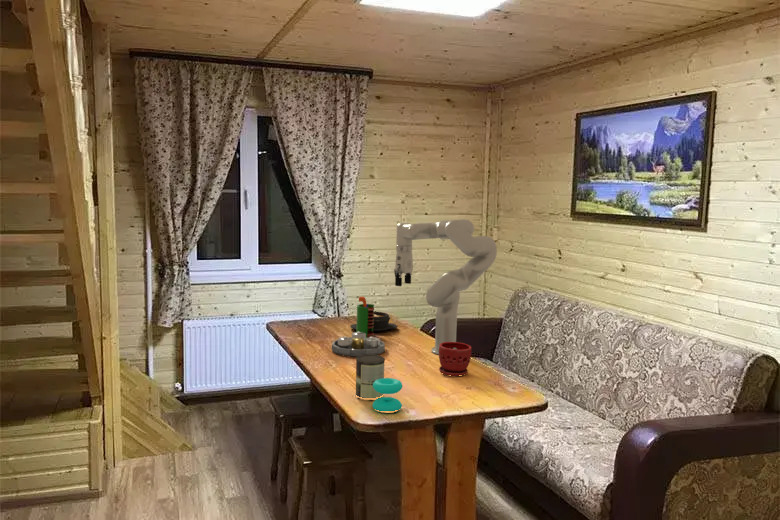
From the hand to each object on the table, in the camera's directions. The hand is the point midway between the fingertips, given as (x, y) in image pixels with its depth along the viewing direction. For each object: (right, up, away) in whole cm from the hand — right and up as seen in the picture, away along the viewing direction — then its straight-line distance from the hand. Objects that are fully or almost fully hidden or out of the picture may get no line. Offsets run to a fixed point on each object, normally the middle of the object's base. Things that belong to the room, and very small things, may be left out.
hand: (403, 284), depth 317 cm
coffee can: (-14, -38, -78) cm, 87 cm away
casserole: (-15, -25, +30) cm, 42 cm away
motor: (-19, -27, +14) cm, 35 cm away
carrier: (-21, -30, -13) cm, 38 cm away
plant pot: (+20, -35, -47) cm, 62 cm away
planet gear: (-15, -29, -16) cm, 36 cm away
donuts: (-7, -39, -91) cm, 100 cm away
